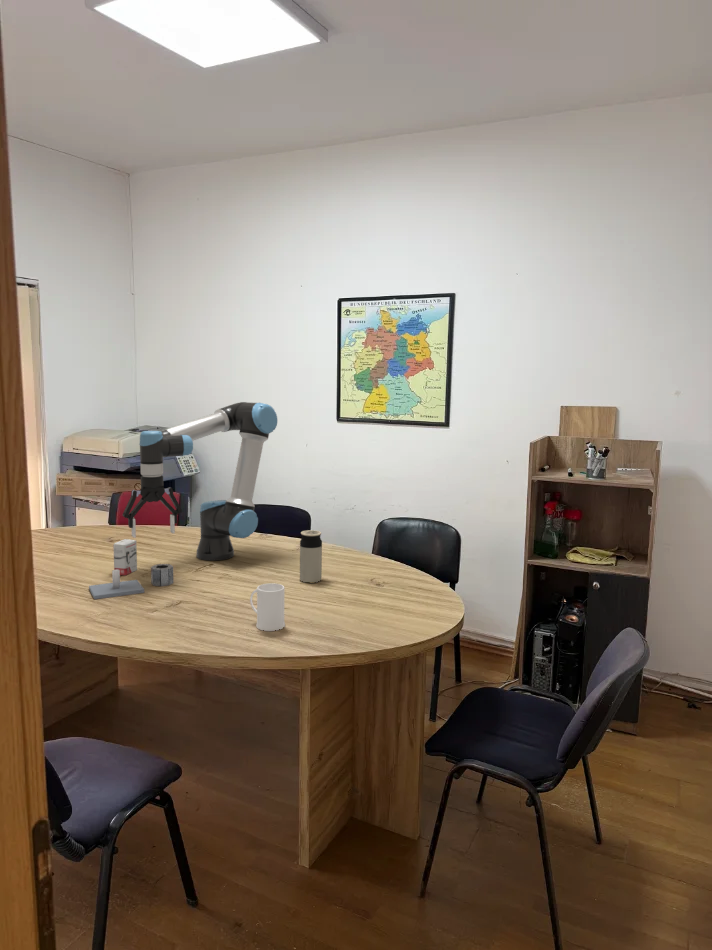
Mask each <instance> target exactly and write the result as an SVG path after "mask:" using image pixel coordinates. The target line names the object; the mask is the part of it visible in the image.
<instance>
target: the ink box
mask: <svg viewBox="0 0 712 950" xmlns="http://www.w3.org/2000/svg"><path fill="white" fill-rule="evenodd" d="M137 555H138V552H137V540H136V539H129V538H124V539H122V540H119V541H117V542H114V543H113V570H120V576H125V577H126V576H128V575H130V574H131V573H134V572H136V571H137V570H138V556H137Z"/></svg>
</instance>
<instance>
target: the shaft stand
mask: <svg viewBox="0 0 712 950" xmlns="http://www.w3.org/2000/svg"><path fill="white" fill-rule="evenodd" d="M111 573H112V575H111V576H112V577H111V579H112V582H109V583H100V584H91V585H88V590H89V591H90V594H91V596H92V597H93V599H94V600H101V599H108V598H115V597H116V598H117V597H123V596H129V595H137V594H143V593H145V587H143V585H142V584H141V583H140V582H139V580H138V579H132V580H122V581H121V575H120V570H114V569H113V570H111Z"/></svg>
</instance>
